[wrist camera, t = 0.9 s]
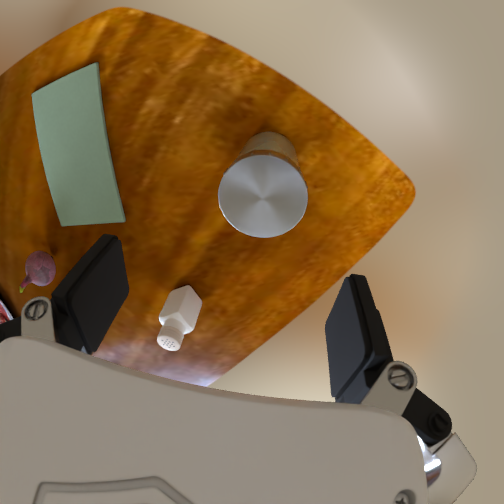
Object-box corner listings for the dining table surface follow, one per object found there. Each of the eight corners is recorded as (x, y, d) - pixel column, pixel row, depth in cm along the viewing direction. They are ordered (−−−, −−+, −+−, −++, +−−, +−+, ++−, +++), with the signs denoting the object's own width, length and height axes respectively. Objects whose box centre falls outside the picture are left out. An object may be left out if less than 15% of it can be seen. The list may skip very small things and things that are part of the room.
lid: (218, 151, 19) (213, 157, 18) (306, 148, 19) (308, 154, 17) (226, 226, 23) (222, 238, 21) (304, 226, 22) (306, 238, 20)
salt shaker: (190, 282, 40) (170, 331, 32) (204, 301, 42) (189, 350, 34) (169, 289, 41) (148, 336, 33) (184, 307, 43) (166, 354, 35)
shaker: (239, 132, 28) (216, 157, 18) (296, 131, 27) (305, 154, 18) (243, 184, 31) (225, 233, 21) (296, 183, 30) (304, 233, 21)
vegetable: (36, 244, 39) (3, 276, 31) (53, 239, 38) (18, 273, 30) (50, 271, 43) (21, 304, 34) (68, 268, 41) (38, 305, 33)
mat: (33, 93, 25) (31, 93, 24) (98, 62, 23) (96, 62, 23) (63, 225, 36) (61, 226, 36) (126, 220, 35) (124, 222, 35)
